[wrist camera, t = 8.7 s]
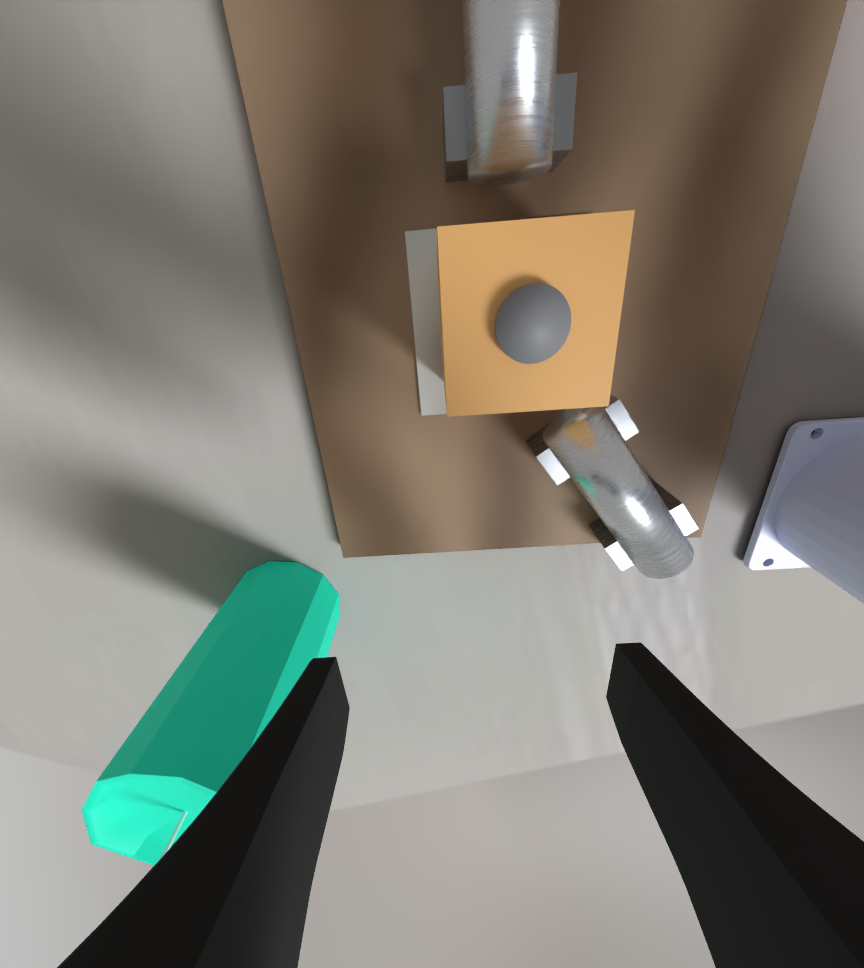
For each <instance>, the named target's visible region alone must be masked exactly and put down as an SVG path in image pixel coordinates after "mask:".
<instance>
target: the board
mask: <svg viewBox="0 0 864 968" xmlns="http://www.w3.org/2000/svg"><path fill="white" fill-rule="evenodd" d="M222 2H223V7H224V11H225V16H226V20H227V25H228V30H229V34H230V39H231V43H232V48H233V53H234V57H235V62H236V66H237V71H238V76H239V80H240V85H241V89H242V94H243V98H244V103H245V108H246V112H247V117H248V121H249V126H250V131H251V135H252V140H253V144H254V149H255V154H256V158H257V163H258V167H259V172H260V177H261V181H262V186H263V190H264V195H265V200H266V204H267V209H268V213H269V218H270V223H271V227H272V232H273V236H274V241H275V246H276V250H277V255H278V259H279V264H280V269H281V273H282V278H283V282H284V287H285V292H286V296H287V301H288V305H289V310H290V314H291V319H292V324H293V328H294V333H295V337H296V342H297V347H298V351H299V356H300V360H301V365H302V370H303V374H304V379H305V383H306V388H307V393H308V397H309V402H310V406H311V411H312V416H313V420H314V425H315V429H316V434H317V439H318V443H319V448H320V452H321V457H322V462H323V466H324V471H325V475H326V480H327V485H328V489H329V494H330V498H331V503H332V508H333V512H334V517H335V521H336V526H337V530H338V535H339V540H340V544H341V549H342V553H343V558H347V557H365V556H382V555H399V554H416V553H433V552H451V551H468V550H485V549H502V548H519V547H537V546H554V545H571V544H588V543H601V542H600V541H599V540H598V538H597V537H596V535H595V534H594V532H593V531H592V529H591V528H590V527H589V524H590V523H592V522H594V521H595V520H597V519H599V518H600V517H599V516H598V514H597V513H596V512H595V510H594V509H593V508H592V506H591V505H590V503H589V502H588V501H587V499H586V498H585V497H584V495H583V494H582V492H581V491H580V490H579V488H578V487H577V486H576V484H575V483H574V481H573V480H572V479H571V477H569V478H568V479H566V480H565V481H563V482H562V483H560V484H559V485H557V484H556V483H555V482H554V480H553V479H552V478H551V476H550V475H549V474H548V472H547V471H546V470H545V468H544V467H543V466H542V464H541V463H540V462H539V460H538V459H537V458H536V456H535V455H534V453H533V452H532V450H531V449H530V447H529V446H528V444H527V443H526V441H525V440H527V439H528V438H529V437H531V436H532V435H534V434H535V433H536V432H538V431H539V430H541V429H542V428H543V427H545V426H546V425H548V424H549V423H550V422H551V421H552V420H553V419H554V418H555V417H557V416H558V415H559V414H561V413H562V412H563V411H565V410H566V409H559V410H544V411H529V412H513V413H498V414H483V415H467V416H452V417H447V410H446V401H445V391H444V381H443V364H442V345H441V327H440V309H439V291H438V273H437V227H439V226H451V225H462V224H474V223H486V222H498V221H510V220H521V219H533V218H545V217H557V216H569V215H580V214H592V213H604V212H616V211H628V210H635V214H634V221H633V229H632V236H631V244H630V251H629V259H628V266H627V274H626V281H625V288H624V296H623V303H622V311H621V318H620V326H619V333H618V341H617V348H616V356H615V363H614V371H613V378H612V386H611V393H610V395H612V396H614V397H616V398H618V399H620V401H621V403H622V404H623V406H624V408H625V409H626V411H627V412H628V414H629V416H630V417H631V419H632V421H633V422H634V424H635V426H636V427H637V429H638V431H639V432H638V433H636V434H635V435H633V436H632V437H630V438H629V439H627V440H626V443H627V444H628V446H629V448H630V449H631V451H632V452H633V454H634V455H635V457H636V459H637V460H638V462H639V463H640V465H641V467H642V468H643V470H644V471H645V473H646V474H647V476H648V478H649V479H650V481H651V482H652V484H653V485H655V484H656V483H658V484H659V485H660V486H662V487H663V488H664V489H665V490H667V491H668V492H669V493H670V494H672V495H673V496H674V497H675V498H677V499H678V500H679V501H680V502H682V503H683V504H684V506H685V508H686V509H687V511H688V513H689V514H690V516H691V518H692V519H693V521H694V523H695V524H696V526H697V527H698V529H697V530H695V531H694V532H692V533H690V534H688V535H686V538H692V537H701V534H702V530H703V527H704V523H705V519H706V516H707V512H708V508H709V505H710V501H711V497H712V494H713V490H714V486H715V483H716V479H717V475H718V472H719V468H720V464H721V461H722V457H723V454H724V450H725V446H726V443H727V439H728V435H729V432H730V428H731V424H732V421H733V417H734V413H735V410H736V406H737V402H738V399H739V395H740V391H741V388H742V384H743V380H744V377H745V373H746V369H747V366H748V362H749V358H750V355H751V351H752V347H753V344H754V340H755V336H756V333H757V329H758V325H759V322H760V318H761V314H762V311H763V307H764V303H765V300H766V296H767V292H768V289H769V285H770V282H771V278H772V274H773V271H774V267H775V263H776V260H777V256H778V252H779V249H780V245H781V241H782V238H783V234H784V230H785V227H786V223H787V219H788V216H789V212H790V208H791V205H792V201H793V197H794V194H795V190H796V186H797V183H798V179H799V175H800V172H801V168H802V164H803V161H804V157H805V153H806V150H807V146H808V142H809V139H810V135H811V131H812V128H813V124H814V120H815V117H816V113H817V110H818V106H819V102H820V99H821V95H822V91H823V88H824V84H825V80H826V77H827V73H828V69H829V66H830V62H831V58H832V55H833V51H834V47H835V44H836V40H837V36H838V33H839V29H840V25H841V22H842V18H843V14H844V11H845V7H846V3H847V0H560V6H559V27H558V48H557V69H556V75H558V74H567V73H576V72H577V85H576V101H575V116H574V132H573V147H572V150H571V151H570V152H569V153H568V155H567V156H566V157H565V158H564V159H563V160H562V162H561V163H560V164H559V165H558V166H557V167H556V168H555V170H554V171H553V172H546V173H544V174H542V175H540V176H538V177H536V178H533V179H530V180H526V181H522V182H518V183H513V184H506V185H478V184H474V183H472V182H470V181H469V180H464V181H454V182H445V171H444V151H443V131H442V105H443V87H448V86H457V85H465V65H464V30H463V0H222Z"/></svg>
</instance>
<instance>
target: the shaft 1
mask: <svg viewBox="0 0 864 968" xmlns="http://www.w3.org/2000/svg"><path fill="white" fill-rule="evenodd" d="M559 6H560V0H463V30H464V65H465V85H457V86H448V87H443V105H442V131H443V151H444V171H445V182H454V181H464V180H469V181H470V182H472V183H474V184H478V185H506V184H513V183H518V182H522V181H526V180H530V179H533V178H536V177H538V176H540V175H542V174H544V173H546V172H553V171H554V170H555V168H556V167H557V166H558V165H559V164H560V163H561V162H562V160H563V159H564V158H565V157H566V156H567V155H568V153H569V152H570V151H571V150H572V147H573V132H574V116H575V101H576V85H577V72H576V73H567V74H558V75H556V69H557V48H558V27H559Z"/></svg>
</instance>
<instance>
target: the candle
mask: <svg viewBox="0 0 864 968" xmlns="http://www.w3.org/2000/svg"><path fill="white" fill-rule="evenodd" d="M339 616H340V608H339V594H338V593H337V592H336V590H335V589H334V588H333V587H332V585H331V584H330V583H329V581H328V580H327V579H326V578H325V576H324V575H323V574H321V573H318V572H316V571H314V570H312V569H310V568H308V567H306V566H304V565H302V564H300V563H298V562H279V561H268V562H266V563H264V564H262V565H259V566H257V567H255V568H253V569H251V570H248V571H247V572H246V573H245V575H244V576H243V577H242V579H241V580H240V581H239V583H238V584H237V586H236V587H235V588H234V590H233V591H232V593H231V594H230V595H229V597H228V598H227V600H226V601H225V602H224V604H223V605H222V607H221V608H220V609H219V611H218V612H217V614H216V615H215V616H214V618H213V619H212V621H211V622H210V623H209V625H208V626H207V628H206V629H205V630H204V632H203V633H202V635H201V636H200V637H199V639H198V640H197V642H196V643H195V644H194V646H193V647H192V649H191V650H190V651H189V653H188V654H187V656H186V657H185V658H184V660H183V661H182V663H181V664H180V665H179V667H178V668H177V669H176V671H175V672H174V674H173V675H172V676H171V678H170V679H169V681H168V682H167V683H166V685H165V686H164V688H163V689H162V690H161V692H160V693H159V695H158V696H157V697H156V699H155V700H154V702H153V703H152V704H151V706H150V707H149V709H148V710H147V711H146V713H145V714H144V716H143V717H142V718H141V720H140V721H139V723H138V724H137V725H136V727H135V728H134V730H133V731H132V732H131V734H130V735H129V737H128V738H127V739H126V741H125V742H124V744H123V745H122V746H121V748H120V749H119V751H118V752H117V753H116V755H115V756H114V758H113V759H112V760H111V762H110V763H109V764H108V766H107V767H106V769H105V770H104V771H103V773H102V774H101V776H100V777H99V778H98V780H97V781H96V783H95V785H94V787H93V789H92V791H91V793H90V795H89V797H88V799H87V801H86V802H85V804H84V806H83V808H82V813H83V816H84V820H85V823H86V827H87V831H88V834H89V838H90V841H91V844H92V845H95V846H98V847H101V848H104V849H107V850H110V851H113V852H116V853H118V854H121V855H124V856H127V857H130V858H133V859H136V860H139V861H142V862H146V863H148V864H152V865H155V864H156V863H157V862H158V861H159V860H160V859H161V858H162V857H163V856H164V854H165V853H166V852H167V851H168V850H169V849H170V848H171V846H172V845H173V844H174V843H175V842H176V841H177V839H178V838H179V837H180V836H181V835H182V834H183V832H184V831H185V830H186V829H187V828H188V827H189V825H190V824H191V823H192V822H193V821H194V820H195V818H196V817H197V816H198V815H199V814H200V812H201V811H202V810H203V809H204V807H205V806H206V805H207V804H208V802H209V801H210V800H211V799H212V798H213V796H214V795H215V794H216V793H217V791H218V790H219V789H220V787H221V786H222V785H223V784H224V782H225V781H226V780H227V778H228V777H229V776H230V774H231V773H232V772H233V771H234V769H235V768H236V767H237V765H238V764H239V763H240V761H241V760H242V759H243V758H244V756H245V755H246V754H247V752H248V751H249V750H250V748H251V747H252V745H253V744H254V743H255V741H256V740H257V738H258V737H259V736H260V734H261V733H262V731H263V730H264V729H265V727H266V726H267V724H268V723H269V722H270V720H271V719H272V717H273V716H274V715H275V713H276V712H277V710H278V709H279V707H280V706H281V704H282V703H283V701H284V700H285V699H286V697H287V696H288V694H289V693H290V691H291V690H292V688H293V687H294V685H295V684H296V682H297V681H298V679H299V677H300V676H301V674H302V673H303V671H304V670H305V668H306V667H307V665H308V664H309V662H310V661H311V660H312V659H313V658H326V657H327V655H328V652H329V648H330V645H331V642H332V639H333V635H334V632H335V629H336V626H337V623H338V619H339Z"/></svg>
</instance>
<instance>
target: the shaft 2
mask: <svg viewBox="0 0 864 968" xmlns="http://www.w3.org/2000/svg"><path fill="white" fill-rule="evenodd" d="M638 432H639V431H638V429H637V427H636V426H635V424H634V422H633V421H632V419H631V417H630V416H629V414H628V412H627V411H626V409H625V408H624V406H623V404H622V403H621V401H620V399H618V398H616V397H614V396H612V395H610V400H609V406H605V407H590V408H575V409H566V410H565V411H563V412H562V413H561V414H559V415H558V416H557V417H555V418H554V419H553V420H552V421H551V422H550V423H549V424H548V425H546V426H545V427H543V428H542V429H541V430H539V431H538V432H536V433H535V434H534V435H532V436H531V437H529V438H528V439H527V440H525V441H526V443H527V444H528V446H529V447H530V449H531V450H532V452H533V453H534V455H535V456H536V458H537V459H538V460H539V462H540V463H541V464H542V466H543V467H544V468H545V470H546V471H547V472H548V474H549V475H550V476H551V478H552V479H553V480H554V482H555V483H556V484H557V485H559V484H560V483H562V482H563V481H565V480H566V479H568V478H569V477H571V479H572V480H573V481H574V483H575V484H576V486H577V487H578V488H579V490H580V491H581V492H582V494H583V495H584V497H585V498H586V499H587V501H588V502H589V503H590V505H591V506H592V508H593V509H594V510H595V512H596V513H597V514H598V516H599V517H600V518H599V519H597V520H595V521H594V522H592V523H590V524H589V527H590V528H591V529H592V531H593V532H594V534H595V535H596V537H597V538H598V540H599V541H600V542H601V544H602V545H603V547H604V548H605V549H606V551H607V552H608V553H609V555H610V556H611V557H612V559H613V560H614V561H615V563H616V564H617V565H618V567H619V568H620V569H621V571H623V570H625V569H627V568H629V567H630V566H632V565H635V567H636V568H637V569H638V571H639V572H640V573H642V574H643V575H645V576H647V577H650V578H657V579H661V578H668V577H672V576H675V575H677V574H679V573H681V572H682V571H684V570H685V569H686V568H687V567H688V566H689V565H690V563H691V562H692V559H693V556H694V551H693V548H692V546H691V544H690V543H689V541H688V539H687V538H686V535H688V534H690V533H692V532H694V531H695V530H697V529H698V527H697V526H696V524H695V523H694V521H693V519H692V518H691V516H690V514H689V513H688V511H687V509H686V508H685V506H684V504H683V503H682V502H680V501H679V500H678V499H677V498H675V497H674V496H673V495H672V494H670V493H669V492H668V491H667V490H665V489H664V488H663V487H662V486H660V485H659V484H658V483H656V484H655V485H653V484H652V482H651V481H650V479H649V478H648V476H647V474H646V473H645V471H644V470H643V468H642V467H641V465H640V463H639V462H638V460H637V459H636V457H635V455H634V454H633V452H632V451H631V449H630V448H629V446H628V444H627V443H626V440H627V439H629V438H630V437H632V436H633V435H635V434H636V433H638Z"/></svg>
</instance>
